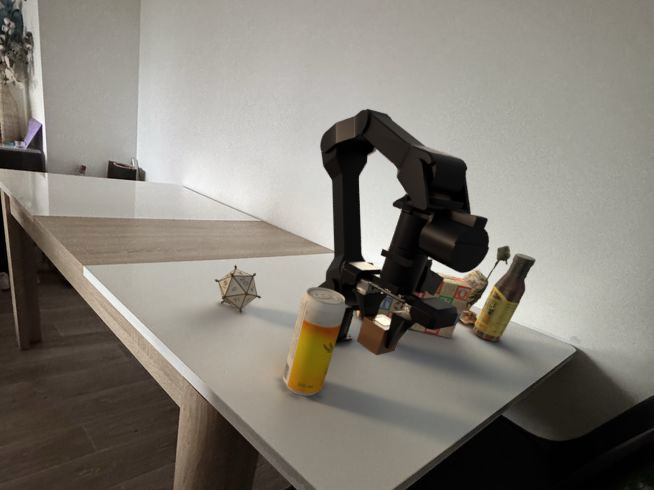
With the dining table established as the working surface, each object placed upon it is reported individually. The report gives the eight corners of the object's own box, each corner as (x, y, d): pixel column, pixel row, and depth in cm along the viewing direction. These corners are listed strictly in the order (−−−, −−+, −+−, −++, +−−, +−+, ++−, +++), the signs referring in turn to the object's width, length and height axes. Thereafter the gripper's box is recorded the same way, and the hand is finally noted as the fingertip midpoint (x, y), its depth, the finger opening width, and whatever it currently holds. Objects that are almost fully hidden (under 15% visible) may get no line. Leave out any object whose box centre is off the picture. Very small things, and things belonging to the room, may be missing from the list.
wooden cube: (376, 355, 61) (385, 329, 59) (356, 341, 64) (364, 316, 62) (394, 351, 63) (404, 326, 61) (374, 337, 66) (383, 313, 64)
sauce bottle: (468, 327, 95) (504, 248, 86) (494, 334, 94) (533, 255, 86) (475, 338, 89) (514, 255, 81) (503, 346, 89) (546, 263, 80)
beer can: (327, 397, 58) (355, 305, 51) (289, 398, 56) (313, 303, 49) (313, 373, 63) (336, 287, 56) (277, 373, 61) (297, 284, 54)
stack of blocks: (357, 318, 87) (373, 265, 81) (354, 307, 92) (369, 257, 87) (451, 338, 87) (473, 287, 81) (442, 326, 92) (463, 277, 87)
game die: (241, 322, 82) (277, 293, 79) (219, 320, 74) (257, 288, 71) (221, 289, 85) (255, 259, 81) (197, 283, 77) (233, 251, 74)
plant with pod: (466, 311, 106) (498, 239, 97) (486, 330, 96) (524, 251, 87) (437, 305, 105) (467, 232, 96) (455, 324, 95) (490, 244, 86)
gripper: (498, 269, 54) (455, 363, 61) (396, 230, 67) (370, 311, 74) (453, 271, 48) (411, 376, 55) (350, 227, 61) (326, 316, 68)
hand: (377, 340), depth 63 cm, fingers closed on wooden cube, 4 cm apart
